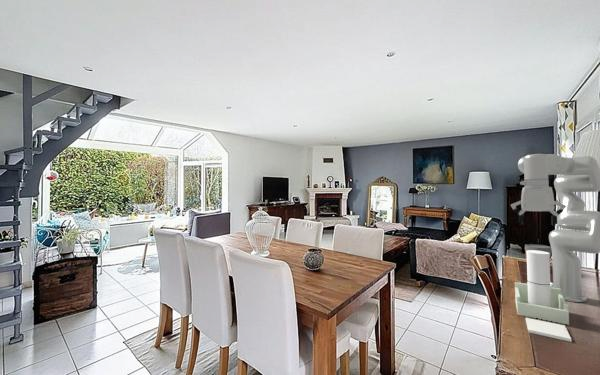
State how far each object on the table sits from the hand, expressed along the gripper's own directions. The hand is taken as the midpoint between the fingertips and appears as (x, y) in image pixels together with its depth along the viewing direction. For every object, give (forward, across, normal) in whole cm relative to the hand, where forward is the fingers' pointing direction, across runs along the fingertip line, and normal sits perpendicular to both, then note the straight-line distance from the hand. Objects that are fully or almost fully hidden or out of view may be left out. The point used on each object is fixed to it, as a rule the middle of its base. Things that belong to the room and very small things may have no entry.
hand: (537, 224), depth 111 cm
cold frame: (+36, 0, 0) cm, 36 cm away
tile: (+36, 0, -17) cm, 40 cm away
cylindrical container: (+36, 0, 0) cm, 37 cm away
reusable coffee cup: (+36, +7, +76) cm, 84 cm away
